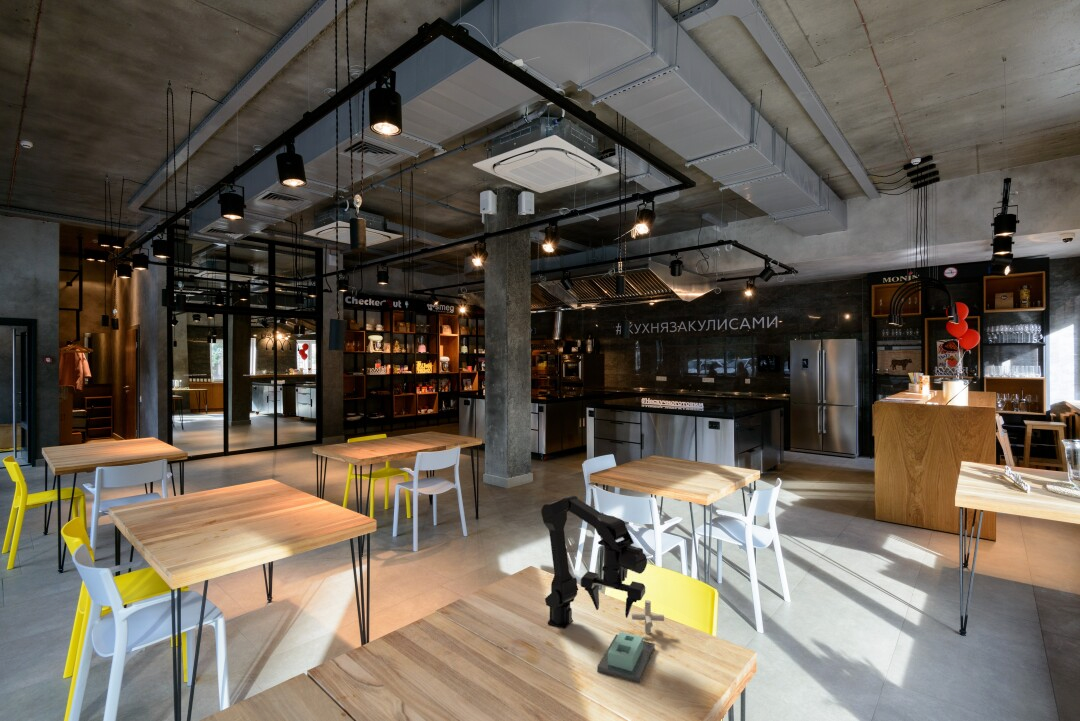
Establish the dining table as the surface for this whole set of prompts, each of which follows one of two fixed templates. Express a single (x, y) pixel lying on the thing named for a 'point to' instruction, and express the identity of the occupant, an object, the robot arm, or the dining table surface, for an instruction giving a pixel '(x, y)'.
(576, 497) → the robot arm
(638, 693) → the dining table surface
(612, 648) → the teal hollow block
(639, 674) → the post base
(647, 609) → the pipe connector
